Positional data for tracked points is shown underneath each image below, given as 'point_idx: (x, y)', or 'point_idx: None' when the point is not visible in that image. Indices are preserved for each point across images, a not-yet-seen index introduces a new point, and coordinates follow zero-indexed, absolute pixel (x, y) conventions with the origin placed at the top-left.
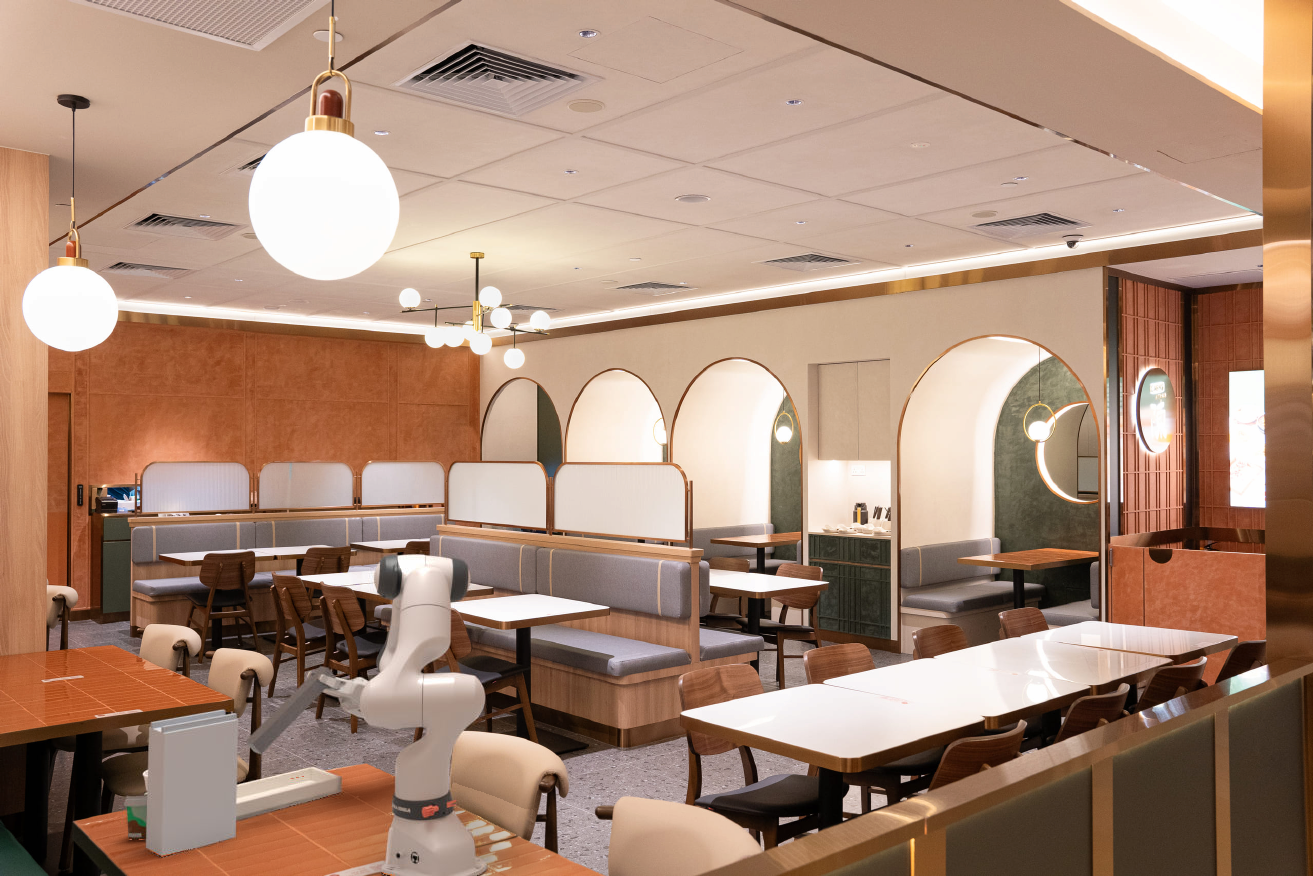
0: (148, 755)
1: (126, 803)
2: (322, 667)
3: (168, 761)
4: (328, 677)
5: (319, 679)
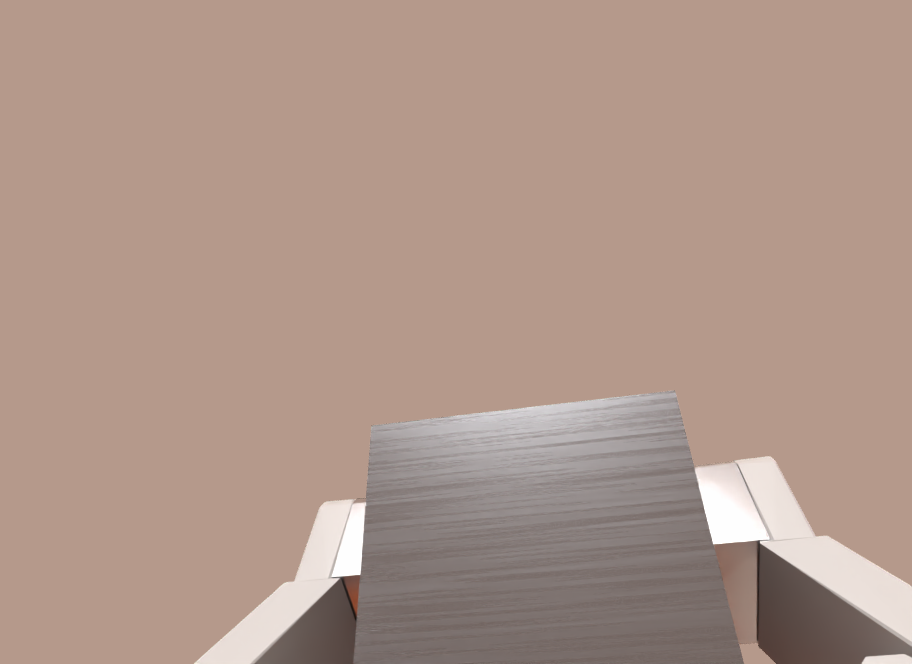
0: None
1: None
2: (567, 413)
3: None
4: (299, 587)
5: None
